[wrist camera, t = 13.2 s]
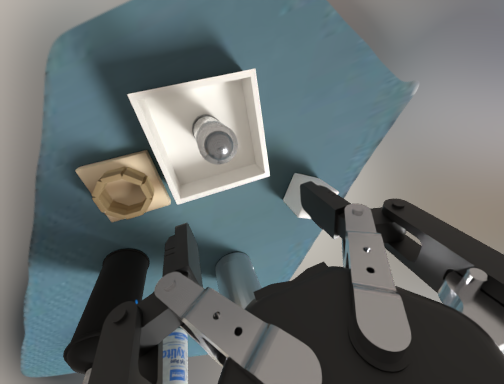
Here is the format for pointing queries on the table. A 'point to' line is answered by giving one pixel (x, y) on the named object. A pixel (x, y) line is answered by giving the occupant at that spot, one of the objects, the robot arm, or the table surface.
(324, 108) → the table surface
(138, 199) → the socket base
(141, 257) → the aerosol can
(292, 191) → the medicine bottle
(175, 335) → the supplement tub
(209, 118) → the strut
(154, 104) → the bin
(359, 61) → the table surface
